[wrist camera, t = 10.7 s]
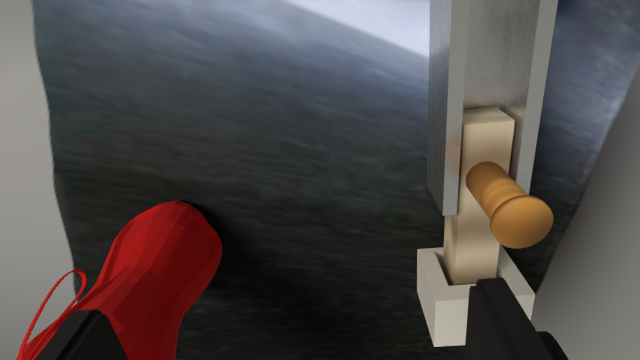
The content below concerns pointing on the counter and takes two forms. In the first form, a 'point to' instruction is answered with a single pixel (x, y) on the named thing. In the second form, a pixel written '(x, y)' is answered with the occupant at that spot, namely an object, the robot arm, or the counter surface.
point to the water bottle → (146, 281)
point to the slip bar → (488, 201)
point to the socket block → (459, 295)
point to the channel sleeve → (485, 81)
